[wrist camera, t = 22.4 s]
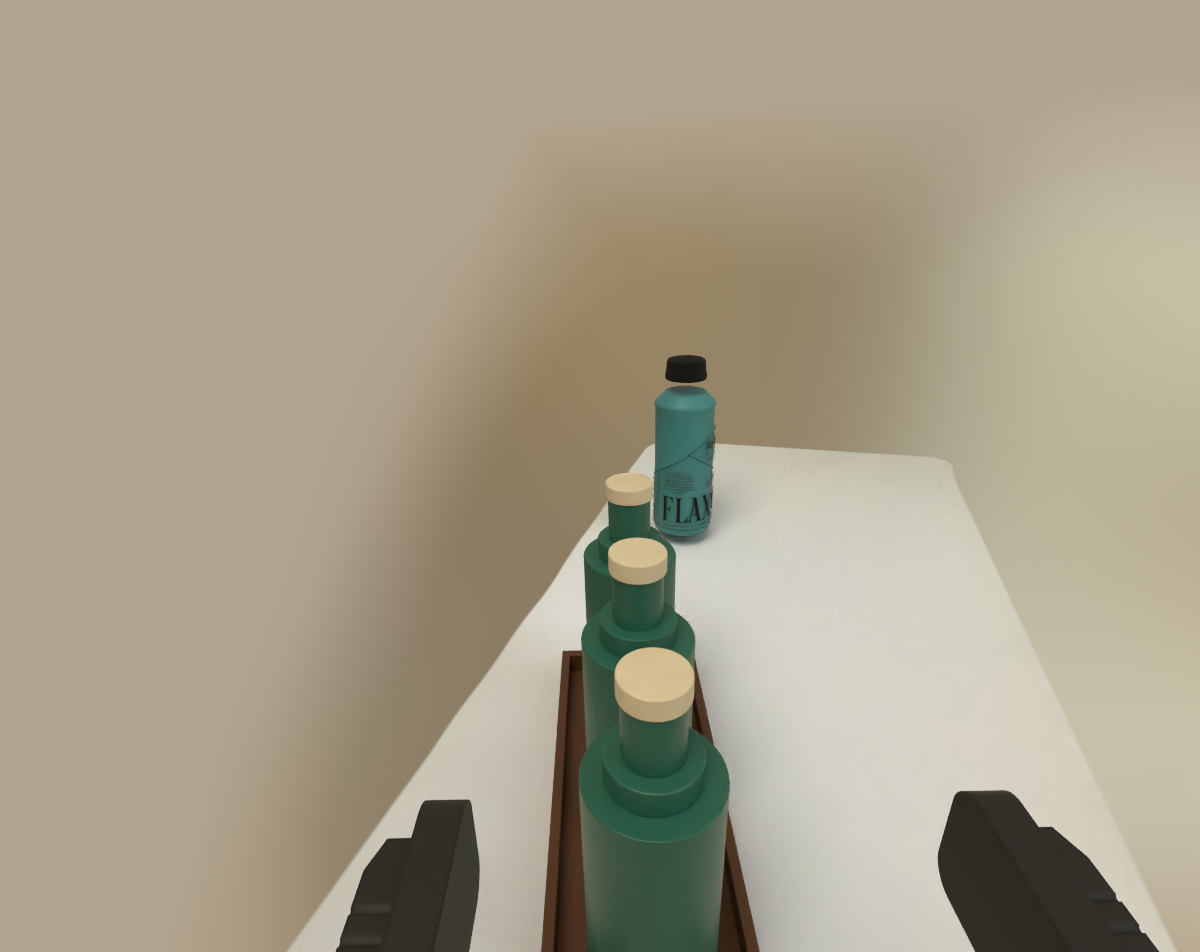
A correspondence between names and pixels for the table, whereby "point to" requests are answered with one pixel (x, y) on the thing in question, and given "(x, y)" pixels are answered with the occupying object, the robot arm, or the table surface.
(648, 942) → the green bottle
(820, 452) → the table surface
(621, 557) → the row bottle middle
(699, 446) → the beverage bottle
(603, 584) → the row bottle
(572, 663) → the tray
